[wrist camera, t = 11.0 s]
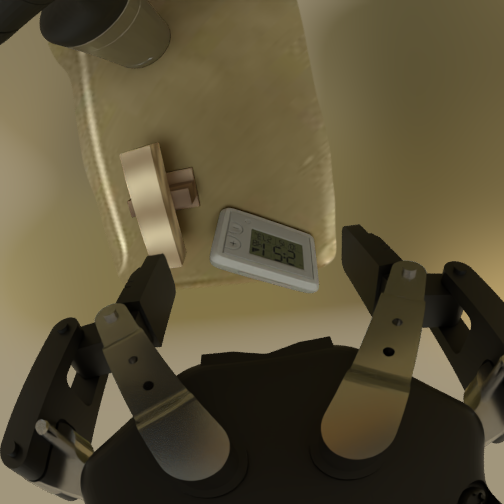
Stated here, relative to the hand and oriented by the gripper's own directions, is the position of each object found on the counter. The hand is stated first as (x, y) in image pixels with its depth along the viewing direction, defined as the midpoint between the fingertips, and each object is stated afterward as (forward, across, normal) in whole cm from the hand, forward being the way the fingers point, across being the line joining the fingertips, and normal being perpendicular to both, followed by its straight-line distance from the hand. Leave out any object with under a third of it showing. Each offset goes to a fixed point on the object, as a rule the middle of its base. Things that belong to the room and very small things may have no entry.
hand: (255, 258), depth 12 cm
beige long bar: (+24, +12, +3) cm, 27 cm away
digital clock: (+30, -2, +13) cm, 33 cm away
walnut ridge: (+30, +12, +3) cm, 33 cm away
